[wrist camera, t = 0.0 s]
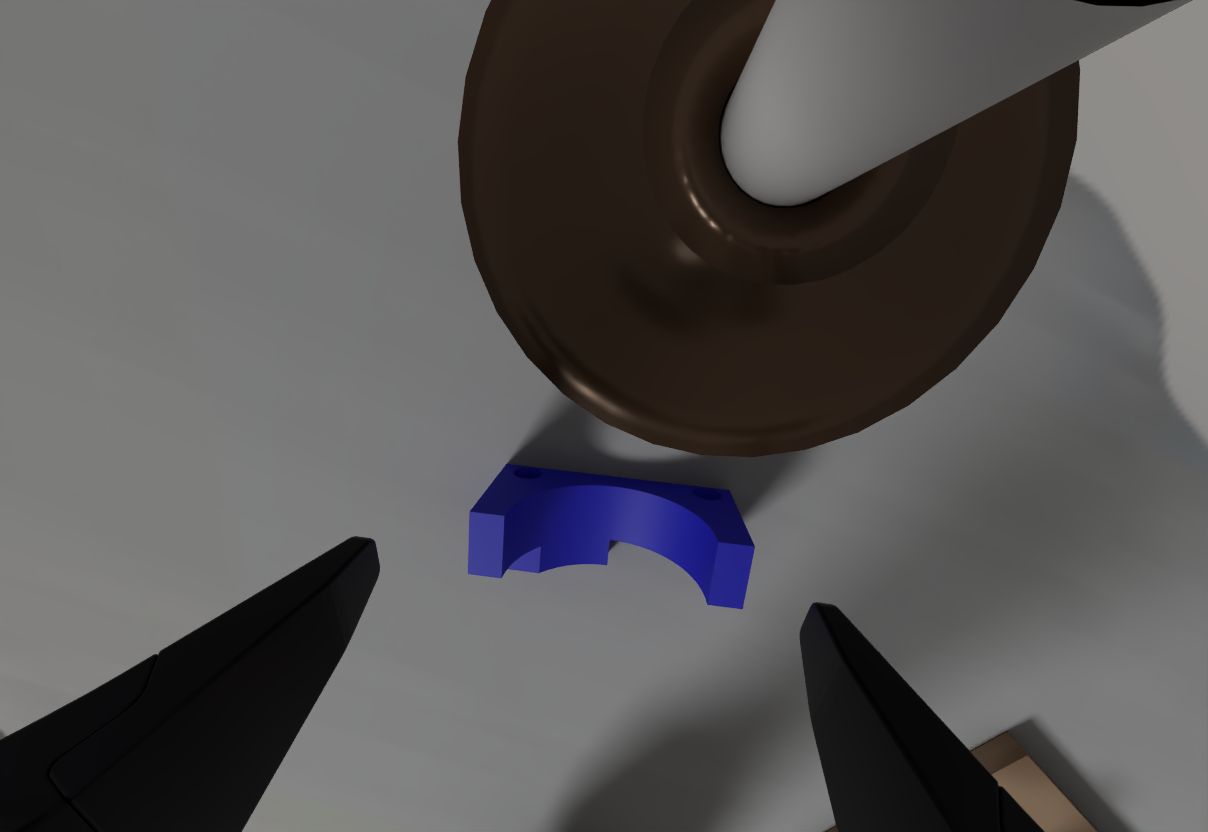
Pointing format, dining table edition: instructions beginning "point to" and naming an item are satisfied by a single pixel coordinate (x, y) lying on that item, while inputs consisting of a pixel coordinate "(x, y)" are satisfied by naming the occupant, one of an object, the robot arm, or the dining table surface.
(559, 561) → the cable clip
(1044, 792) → the post block
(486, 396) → the dining table surface
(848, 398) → the candlestick
